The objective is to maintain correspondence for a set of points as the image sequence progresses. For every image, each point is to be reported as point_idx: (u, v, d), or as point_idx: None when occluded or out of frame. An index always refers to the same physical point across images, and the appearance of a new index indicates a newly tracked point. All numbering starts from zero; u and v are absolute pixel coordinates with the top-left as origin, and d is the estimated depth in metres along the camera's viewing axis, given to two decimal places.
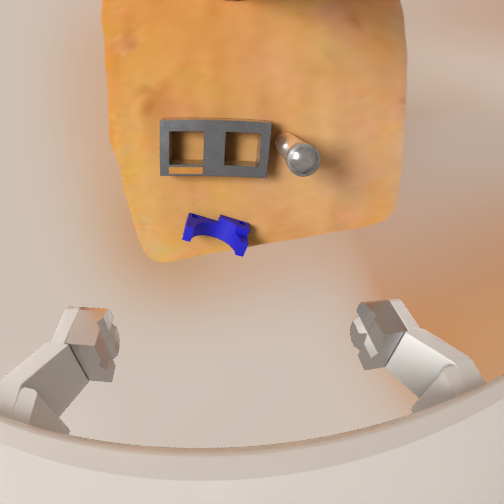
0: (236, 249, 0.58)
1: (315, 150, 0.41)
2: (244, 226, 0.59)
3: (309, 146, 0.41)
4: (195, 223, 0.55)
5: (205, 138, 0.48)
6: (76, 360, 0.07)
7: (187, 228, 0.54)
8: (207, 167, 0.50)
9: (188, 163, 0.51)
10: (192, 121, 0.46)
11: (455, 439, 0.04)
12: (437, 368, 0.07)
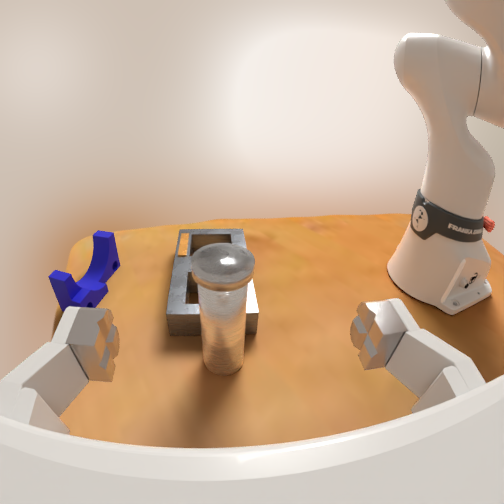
0: None
1: (246, 270, 0.23)
2: (85, 302, 0.33)
3: (251, 262, 0.24)
4: (110, 249, 0.40)
5: None
6: (76, 360, 0.07)
7: (110, 233, 0.40)
8: (185, 259, 0.40)
9: (190, 251, 0.43)
10: (244, 247, 0.43)
11: (455, 439, 0.04)
12: (437, 368, 0.07)
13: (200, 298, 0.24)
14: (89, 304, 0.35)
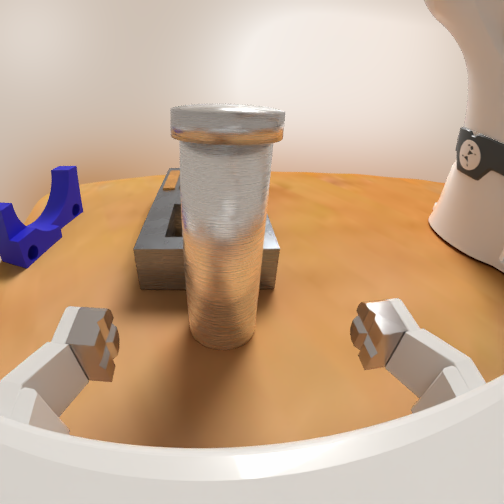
0: None
1: (271, 113, 0.11)
2: (27, 243, 0.22)
3: (279, 111, 0.12)
4: (70, 185, 0.29)
5: None
6: (76, 360, 0.07)
7: (71, 166, 0.29)
8: (173, 192, 0.28)
9: None
10: None
11: (455, 439, 0.04)
12: (437, 368, 0.07)
13: (183, 182, 0.13)
14: (34, 250, 0.23)
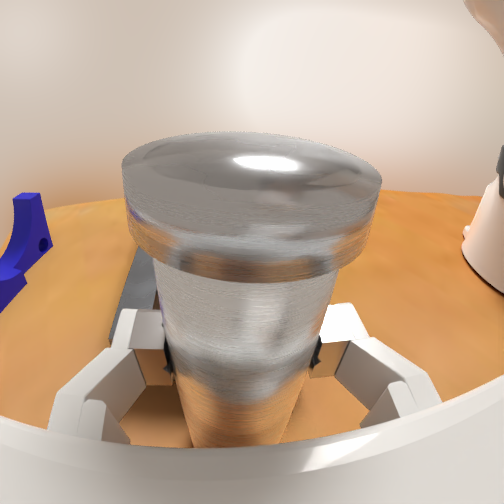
0: None
1: (365, 182, 0.05)
2: None
3: (365, 167, 0.06)
4: (33, 218, 0.22)
5: None
6: (138, 365, 0.07)
7: (35, 194, 0.22)
8: None
9: None
10: None
11: (455, 439, 0.04)
12: (386, 382, 0.07)
13: (163, 312, 0.06)
14: None
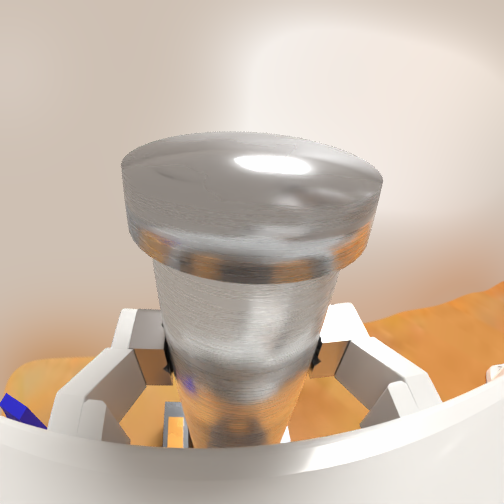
0: None
1: (366, 183, 0.05)
2: None
3: (366, 167, 0.05)
4: None
5: None
6: (138, 365, 0.07)
7: (22, 407, 0.16)
8: None
9: None
10: None
11: (455, 439, 0.04)
12: (386, 382, 0.07)
13: (163, 312, 0.06)
14: None
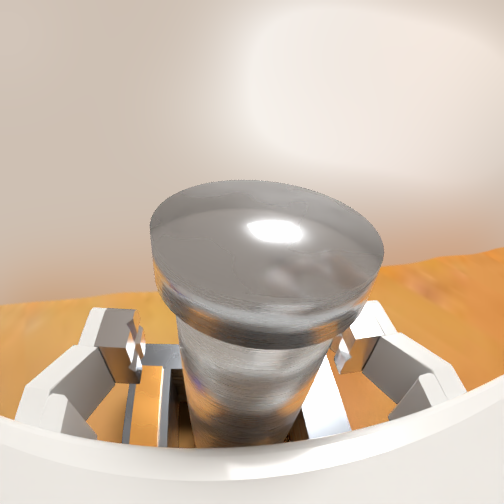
0: None
1: (369, 259, 0.05)
2: None
3: (370, 234, 0.06)
4: None
5: None
6: (104, 363, 0.07)
7: None
8: None
9: (170, 435, 0.11)
10: (343, 426, 0.11)
11: (455, 439, 0.04)
12: (414, 375, 0.07)
13: (184, 352, 0.07)
14: None
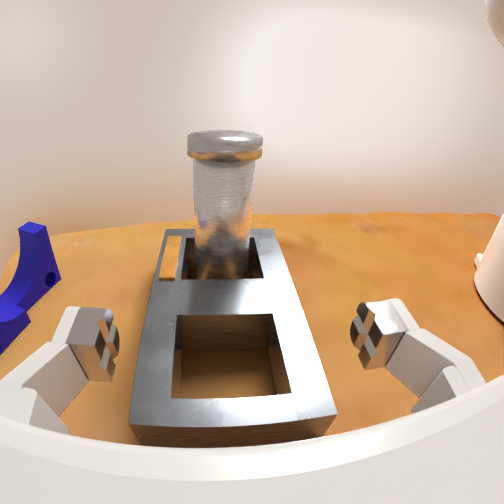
0: None
1: (253, 140, 0.18)
2: None
3: (259, 138, 0.19)
4: (38, 252, 0.22)
5: (247, 280, 0.21)
6: (76, 360, 0.07)
7: (40, 226, 0.22)
8: (173, 286, 0.20)
9: (183, 268, 0.24)
10: (281, 262, 0.24)
11: (455, 439, 0.04)
12: (437, 368, 0.07)
13: (195, 185, 0.20)
14: None
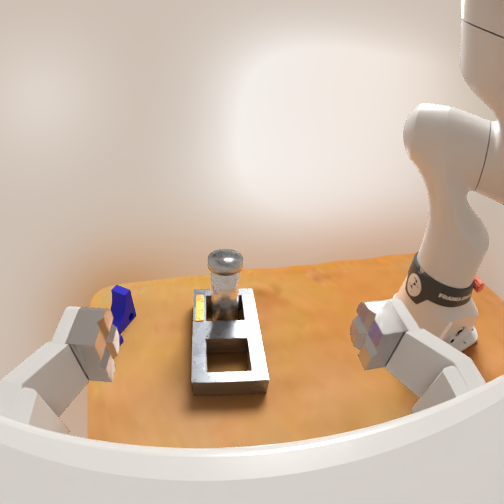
0: None
1: (238, 264, 0.42)
2: None
3: (241, 260, 0.42)
4: (126, 304, 0.46)
5: (237, 321, 0.45)
6: (76, 360, 0.07)
7: (126, 290, 0.46)
8: (202, 324, 0.44)
9: None
10: (254, 310, 0.48)
11: (455, 439, 0.04)
12: (437, 368, 0.07)
13: (212, 280, 0.43)
14: None
